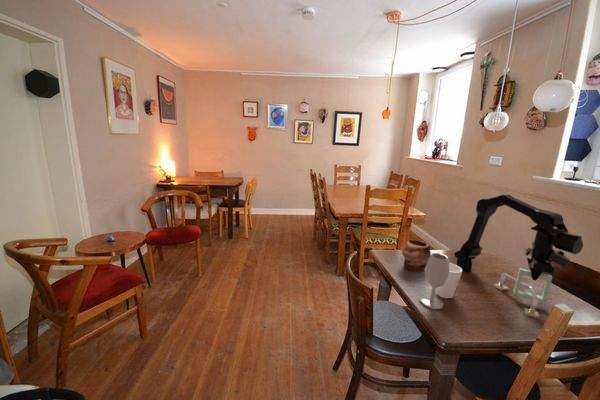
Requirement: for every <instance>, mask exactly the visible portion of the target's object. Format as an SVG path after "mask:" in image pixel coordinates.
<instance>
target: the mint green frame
mask: <svg viewBox="0 0 600 400" xmlns="http://www.w3.org/2000/svg"><path fill="white" fill-rule="evenodd" d="M523 276H525V277H529V278H532V275H531V270H530V269H525V268H521V267H519V269H518V273H517V276H516V279H517V280H516V282H515V284H514V288H513V290H512V293H513V295H514V296H516V297H519V298H520V297H521V298H525V299H528V300H531V301H532V300H533V297H532V294H531V292H530V291H529V292H528V291H525V290H520V289H519V288H520V286H521V285H520V281H521V282H522V277H523ZM537 280H541V281H545V283H544V287H543V290H542V293H541V295H539V294H536V296H537V298H538V303H542V304H546V302H547V297H548V293H549V290H550V286H551V283H552V280H553V276H552V275H551V274H549V273H545V272H542V274H541V275H540V276H539V277H538V279H537Z"/></svg>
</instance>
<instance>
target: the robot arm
mask: <svg viewBox="0 0 600 400" xmlns="http://www.w3.org/2000/svg"><path fill="white" fill-rule="evenodd" d="M503 206H507V207H509V208H510V209H512V210H514V211H516V212H519V213H520V214H521V215H523V216H526V217H528V218H529V219H530V220H531V221H532V222H533V223H535V224H536V225H534V226H532V227H530V230H533V231H536V233H535V236H534V240H533V242H531V246H532V248H530V247H528V248H526V249H525V251H524V255H525V256H529V257H526V262H527V265H528V270H531V275H532V277H531V279H532V281H535V282H536V281H537V280H539V279H538V277H539V276H540V275H541V274H542V273H546V274H550V275H551V274H552V275H553V274H555V271H556V268H555V267H554V265H553V264H552V263H553V262H554V263H555V264H557V265H560V266H561V267H563V268H566V267H567V266H568V265H569V264H570V263H571V262H572V260H570V259H569V258H568V257H567V256H566V255H565V252H567V253H569V254H573V255H578V254H579V253H580V252H581V251H582V250H583V247H584V242H583V239H582V238H583V236H582V235H577V234H572V233H569V230H568V228H567V226H566V225H565V222H564V219H563V216H562V215H561V214H560V213H558V212H554V211H550V210H547V209H541V208H538V207H536V206H533V205H531V204H529V203H526V202H525V201H522V200H520V199H518V198H516V197H513V196H512V195H511V194H500V195H497V196H495V197H490V198H482V199H479V200H478V201H477V203H476V207H475V208H476V209H475V210H476V211H475V212H476V218H475V221H474V224H473V226H472V227H471V228H472V229H471V231H470V234H469V236H468V239H467V240H466V241H465V242H464V243H463V244H462V245H461V247H460V249H459V250H457V251H456V252H454V258H456V263H455V265H457V266H459V267H460V268H461V269H462V272H466V273H471V270H472V267H473V261H472V260H475V259H476V257H479V255H481V253H482V250H483V247H482V246H481V245H480V243H481V242H480V241H481V240H482V238H483V237H482V236H483V234H484V232H485V229H486V227H487V224H488V222H489V219H490V218H491V217H492V215H494V214H495V213H496V212H497V210H498V208H500V207H503ZM554 248H555V249H557V250H555V249H554ZM563 251H564V252H563Z"/></svg>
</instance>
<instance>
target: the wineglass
mask: <svg viewBox="0 0 600 400" xmlns="http://www.w3.org/2000/svg"><path fill="white" fill-rule="evenodd" d="M449 263H450V259H449V257H448V256H447V255H445V254H443V253H440V252H432V253H431V256H430V257H429V259H428V262H427V265H426V267H425V269H424V279H425V281H426V282H427V283H428V284H429V285H430V287H431V291H430V295H422V296H421V297H420V298H419V300H418V301H419V303H421V304H422V305H423V306H424V307H426V308H429V309H432V310H442V308H443V307H444V303H443V302H442V301H441V300H440V299H439V298H437V297H435V295H436V288H437V287H440V286H443V285H444V284H445V282H446V280H447V278H448V275H449Z"/></svg>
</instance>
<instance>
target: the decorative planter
mask: <svg viewBox="0 0 600 400" xmlns="http://www.w3.org/2000/svg"><path fill="white" fill-rule="evenodd" d="M401 254H402V256H403V258H404V260H403V261H404V262H403V267H404V268H406V269H407V270H409V271H412V272H416V273H420V272H424V271H425V268H426V265H427V262H428V259H429V257H430V256H431V254H432V253H431V245H430V244H429V243H426V242H424V241H421V240H416V239H409V240H408V241H407V242H406V245H405V247H403V248H402V250H401Z"/></svg>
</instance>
